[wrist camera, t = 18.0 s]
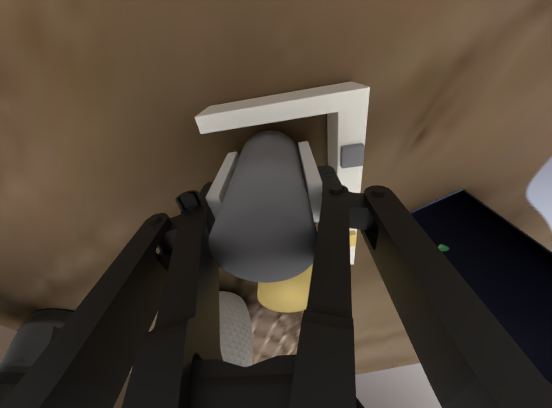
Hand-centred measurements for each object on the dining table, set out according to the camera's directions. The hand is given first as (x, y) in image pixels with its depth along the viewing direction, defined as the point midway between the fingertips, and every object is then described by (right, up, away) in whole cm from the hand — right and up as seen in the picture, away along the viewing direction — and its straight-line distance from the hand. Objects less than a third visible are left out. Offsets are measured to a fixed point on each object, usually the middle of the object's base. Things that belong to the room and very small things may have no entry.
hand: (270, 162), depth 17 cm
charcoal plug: (0, 0, 0) cm, 1 cm away
